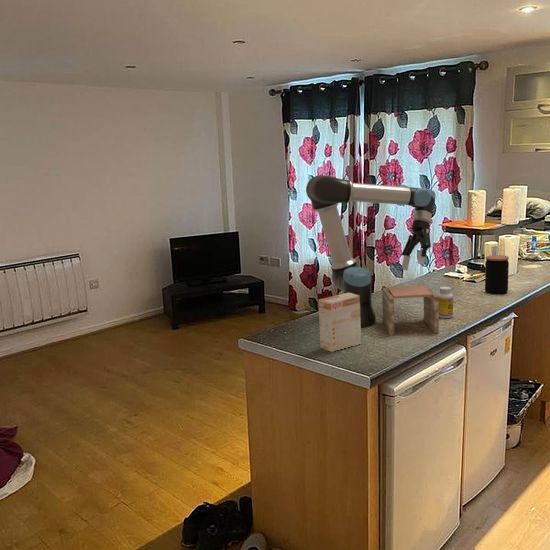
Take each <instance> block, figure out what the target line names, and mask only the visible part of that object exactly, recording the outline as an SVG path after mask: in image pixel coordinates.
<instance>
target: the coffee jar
mask: <svg viewBox="0 0 550 550" xmlns="http://www.w3.org/2000/svg"><path fill="white" fill-rule="evenodd" d="M509 258H510V257H509V256H507V255H501V254H492V255H491V254H490V255H486V256H485V263H484V264H485V269H484V270H485V271H484V272H485V273H484V292H486V293H487V294H488V293H490V294H489V295H493V294H502V295H506V294H507V293H508V291H509V265H510V264H509ZM505 293H506V294H505Z"/></svg>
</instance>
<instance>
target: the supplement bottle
mask: <svg viewBox="0 0 550 550" xmlns="http://www.w3.org/2000/svg"><path fill="white" fill-rule="evenodd" d="M436 295H437V296H438V297H439V319H450V318H452V317H453V316H454V294H453V293H452V288H451V287H450V286H440V287H439V293H438V294H436Z"/></svg>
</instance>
